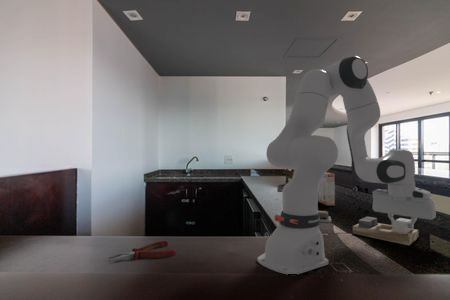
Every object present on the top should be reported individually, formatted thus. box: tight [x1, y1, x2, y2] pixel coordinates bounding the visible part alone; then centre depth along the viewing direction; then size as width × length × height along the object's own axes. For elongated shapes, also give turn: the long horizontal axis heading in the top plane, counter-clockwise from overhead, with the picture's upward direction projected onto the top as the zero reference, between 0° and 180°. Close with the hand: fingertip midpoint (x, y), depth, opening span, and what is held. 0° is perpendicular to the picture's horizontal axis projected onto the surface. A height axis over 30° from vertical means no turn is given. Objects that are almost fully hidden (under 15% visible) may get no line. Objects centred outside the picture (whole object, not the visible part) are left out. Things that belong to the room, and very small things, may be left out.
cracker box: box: [318, 171, 336, 207], centre depth 172 cm, size 14×6×21 cm, turn 1°
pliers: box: [108, 240, 177, 262], centre depth 85 cm, size 12×20×3 cm, turn 119°
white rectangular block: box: [393, 217, 413, 234], centre depth 100 cm, size 9×4×4 cm, turn 131°
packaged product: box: [318, 210, 332, 223], centre depth 132 cm, size 18×5×10 cm
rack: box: [352, 216, 419, 246], centre depth 104 cm, size 13×20×6 cm
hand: (402, 226), depth 99 cm, fingers closed on white rectangular block, 4 cm apart
